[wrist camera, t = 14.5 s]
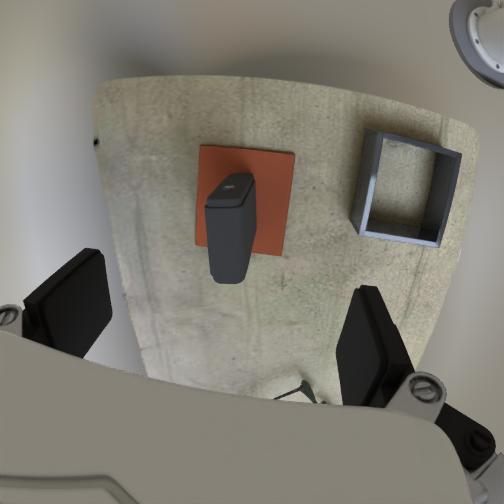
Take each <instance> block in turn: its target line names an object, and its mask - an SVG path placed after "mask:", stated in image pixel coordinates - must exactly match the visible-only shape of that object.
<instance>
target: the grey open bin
mask: <svg viewBox="0 0 504 504" xmlns="http://www.w3.org/2000/svg"><path fill="white" fill-rule="evenodd" d="M383 138H385V139H389V140H394V141H398V142H402V143H406V144H410V145H413V146H417V147H421V148H425V149H428V150H432V151H435V152H437V157H436V163H435V168H434V173H433V178H432V183H431V187H430V192H429V196H428V201H427V205H426V209H425V213H424V217H423V221H422V225H421V227H416V226H410V225H405V224H399V223H393V222H387V221H382V220H376V219H369V218H368V217H369V212H370V208H371V203H372V198H373V193H374V188H375V183H376V177H377V172H378V166H379V160H380V154H381V148H382V142H383ZM461 157H462V154H461V153H458V152H455V151H452V150H449V149H446V148H443V147H439V146H436V145H433V144H429V143H426V142H422V141H419V140H415V139H411V138H407V137H404V136H400V135H396V134H392V133H387V132H383V131H379V130H373V129H367V128H366V130H365V137H364V143H363V150H362V156H361V163H360V169H359V174H358V180H357V186H356V191H355V197H354V202H353V207H352V212H351V217H350V222H351V223H352V225H353V227H354V228H355V230H356V232H357V234H358V235H359V236H366V237H373V238H379V239H386V240H392V241H398V242H405V243H411V244H417V245H423V246H429V247H435V248H439V247H440V244H441V240H442V237H443V234H444V230H445V227H446V223H447V219H448V216H449V212H450V208H451V204H452V200H453V196H454V192H455V187H456V183H457V178H458V173H459V168H460V163H461Z"/></svg>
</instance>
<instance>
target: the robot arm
mask: <svg viewBox="0 0 504 504" xmlns="http://www.w3.org/2000/svg"><path fill="white" fill-rule="evenodd" d="M500 4H501V8H499V2H498V0H492V6H491V7H490V8H489V7H478V8H475V9H474V10H472V11H471V12H470V14H469V16H468V20H467V29H468V35H469V38H470V41H471V43H472V45H473V47H474V49H475V51H476V53H477V54H478V55H479V57H480V58H481V59H482V61H483V62H484V63H485V64H486V65H487V66H489V67H490V68H491V69H493V70H495V71H496V72H499V73H504V0H500ZM23 302H24V305H25V309H24V310H23V311H22V309H21V307H20V306H18V305H15V304H7V305H3V306H1V307H0V504H504V455H503V454H502V453H499V454H498V455H497V454H496V453H495V448H496V445H495V440H494V437H493V435H492V434H491V432H490V431H489V430H488V429H486V428H485V427H484V426H482V425H480V424H479V423H477V422H475V421H474V420H472V419H470V418H469V417H467V416H466V415H464V414H462V413H461V412H459V411H458V410H456V409H454V408H453V407H451V406H450V405H448V404H446V403H445V400H446V396H447V393H446V388H445V386H444V384H443V383H442V382H441V381H440V380H439V379H438V378H437V377H435V376H434V375H432V374H429V373H426V372H415V370H414V368H413V365H412V363H411V360H410V358H409V355H408V353H407V350H406V348H405V345H404V343H403V340H402V338H401V336H400V333H399V331H398V329H397V327H396V325H395V324H393V321H392V319H391V317H390V314H389V312H388V310H387V308H386V305H385V303H384V301H383V299H382V296H381V294H380V292H379V290H378V288H377V287H376V286H367V285H361V286H360V288H359V289H358V288H356V289H355V290H354V293H353V296H352V299H351V303H350V306H349V309H348V313H347V316H346V319H345V322H344V326H343V329H342V332H341V335H340V338H339V341H338V344H337V347H336V359H337V366H338V372H339V379H340V386H341V394H342V401H343V405H333V404H317V403H304V402H293V401H283V400H274V399H265V398H257V397H250V396H243V395H236V394H230V393H223V392H218V391H212V390H206V389H201V388H196V387H190V386H185V385H181V384H176V383H171V382H167V381H162V380H158V379H154V378H150V377H145V376H142V375H138V374H134V373H130V372H126V371H123V370H119V369H115V368H111V367H108V366H105V365H101V364H98V363H94V362H91V361H88V360H85V359H83V358H84V356H85V355H86V353H87V352H88V351H89V349H90V348H91V346H92V345H93V344H94V342H95V341H96V339H97V338H98V337H99V335H100V334H101V332H102V331H103V330H104V328H105V327H106V326H107V324H108V323H109V321H110V320H111V318H112V306H111V300H110V294H109V288H108V281H107V274H106V267H105V259H104V255H103V254H101V252H100V250H98V249H91V248H85V249H83V250H82V251H81V252H79V253H78V254H77V255H76V256H75V257H73V258H72V259H71V260H70V261H68V262H67V263H66V264H65V265H63V266H62V267H61V268H60V269H59V270H57V271H56V272H55V273H54V274H53V275H52V276H50V277H49V278H48V279H47V280H46V281H45V282H43V283H42V284H41V285H40V286H39V287H38V288H37V289H35V290H34V291H33V292H32V293H31V294H30V295H29V296H28V297H26V298H25V299H24V300H23Z"/></svg>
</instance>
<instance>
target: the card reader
mask: <svg viewBox="0 0 504 504" xmlns="http://www.w3.org/2000/svg"><path fill="white" fill-rule="evenodd" d="M204 210H205V222H206V233H207V244H208V254H209V264H210V274H211V275H212V276H213V279H214V280H215V282H217V283H219V284H238V283H240V282H242V281H243V280H244V278H245V275H246V273H247V269H248V265H249V260H250V256H251V252H252V247H253V243H254V239H255V235H256V231H257V215H256V183H255V179H254V176H253V174H251V173H234V174H230V175H229V176H228V177H226V178H225V179H224V180H223V181H222V182H221V183H220V184H219V185H218V186H217V187H216V188H215V189H214V191H213V192H212V193H211V194H210V195H209V196H208V197H207V199H206V205H205V206H204Z"/></svg>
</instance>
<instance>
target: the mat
mask: <svg viewBox="0 0 504 504" xmlns="http://www.w3.org/2000/svg"><path fill="white" fill-rule="evenodd" d="M294 162H295V154H287V153H280V152H271V151H262V150H253V149H243V148H232V147H220V146H206V145H201V146H200V155H199V172H198V192H197V217H196V245H197V246H205V247H208V244H207V233H206V222H205V210H204V206H205V205H206V199H207V197H208V196H209V195H210V194H211V193H212V192H213V191H214V189H215V188H216V187H217V186H218V185H219V184H220V183H221V182H222V181H223V180H224V179H225V178H226V177H228V176H229V175H230V174H234V173H251V174H253V176H254V179H255V183H256V215H257V231H256V235H255V239H254V243H253V247H252V253H260V254H268V255H276V256H282V249H283V242H284V235H285V228H286V221H287V214H288V207H289V200H290V192H291V185H292V177H293V170H294Z"/></svg>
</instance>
